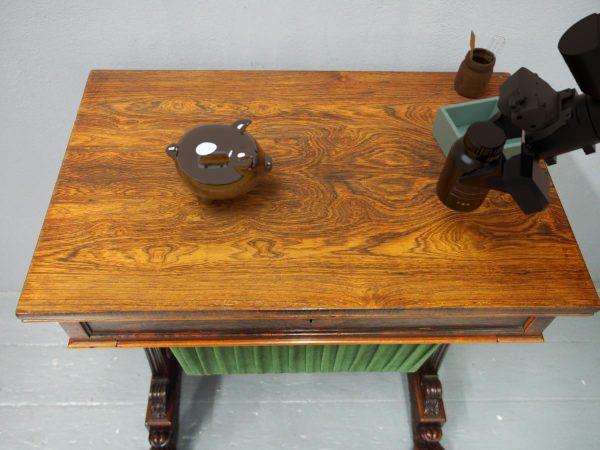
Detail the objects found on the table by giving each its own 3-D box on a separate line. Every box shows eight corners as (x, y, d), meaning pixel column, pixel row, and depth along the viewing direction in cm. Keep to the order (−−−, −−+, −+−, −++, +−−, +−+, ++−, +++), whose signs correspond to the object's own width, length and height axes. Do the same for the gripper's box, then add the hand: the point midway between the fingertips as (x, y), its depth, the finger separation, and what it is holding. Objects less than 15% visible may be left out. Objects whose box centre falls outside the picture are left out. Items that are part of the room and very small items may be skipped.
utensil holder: (489, 97, 91) (515, 40, 81) (457, 100, 90) (479, 43, 80) (478, 76, 94) (502, 19, 84) (447, 78, 93) (467, 21, 83)
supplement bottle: (435, 172, 72) (459, 110, 62) (483, 180, 71) (515, 118, 61) (433, 210, 68) (458, 150, 58) (484, 218, 67) (518, 159, 57)
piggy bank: (274, 215, 75) (273, 164, 65) (173, 218, 74) (157, 167, 64) (272, 158, 81) (271, 105, 71) (178, 161, 80) (165, 107, 70)
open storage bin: (487, 120, 87) (498, 96, 83) (518, 166, 82) (532, 142, 77) (430, 131, 86) (439, 106, 81) (458, 178, 80) (469, 155, 75)
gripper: (565, 10, 55) (440, 71, 65) (565, 125, 45) (417, 175, 55) (602, 82, 60) (480, 127, 71) (610, 199, 50) (467, 231, 61)
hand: (462, 161), depth 64 cm, fingers closed on supplement bottle, 7 cm apart
